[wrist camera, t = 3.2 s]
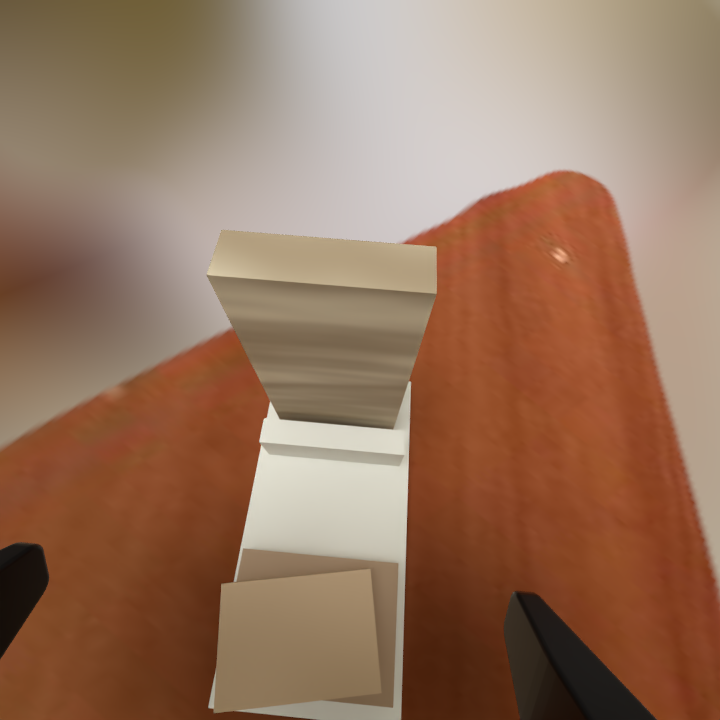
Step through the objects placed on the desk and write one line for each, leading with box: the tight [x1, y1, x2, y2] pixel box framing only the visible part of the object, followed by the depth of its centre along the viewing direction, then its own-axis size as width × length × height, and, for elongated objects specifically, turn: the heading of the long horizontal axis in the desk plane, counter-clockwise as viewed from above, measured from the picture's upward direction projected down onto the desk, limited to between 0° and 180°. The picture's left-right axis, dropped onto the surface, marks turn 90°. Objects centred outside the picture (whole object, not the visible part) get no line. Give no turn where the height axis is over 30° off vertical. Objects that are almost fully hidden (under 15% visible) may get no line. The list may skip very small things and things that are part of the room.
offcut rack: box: [208, 382, 411, 720], centre depth 19 cm, size 16×8×4 cm, turn 175°
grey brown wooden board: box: [207, 230, 437, 430], centre depth 16 cm, size 2×6×13 cm, turn 85°
